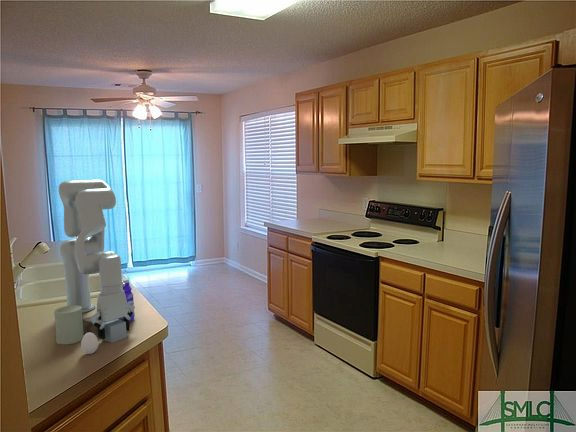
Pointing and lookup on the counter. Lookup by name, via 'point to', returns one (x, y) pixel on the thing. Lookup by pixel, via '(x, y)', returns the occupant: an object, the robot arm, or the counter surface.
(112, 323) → the grey cube
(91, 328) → the walnut block
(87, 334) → the egg
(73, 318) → the can
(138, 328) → the counter surface
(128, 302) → the bottle
